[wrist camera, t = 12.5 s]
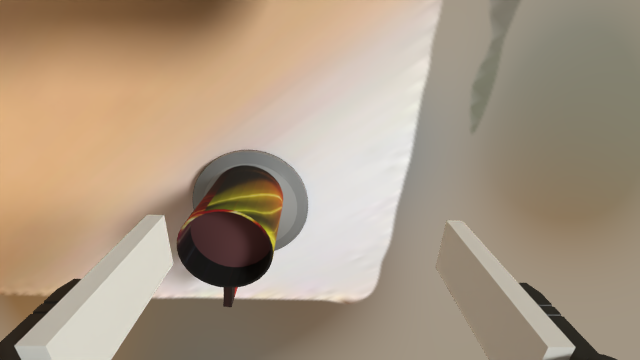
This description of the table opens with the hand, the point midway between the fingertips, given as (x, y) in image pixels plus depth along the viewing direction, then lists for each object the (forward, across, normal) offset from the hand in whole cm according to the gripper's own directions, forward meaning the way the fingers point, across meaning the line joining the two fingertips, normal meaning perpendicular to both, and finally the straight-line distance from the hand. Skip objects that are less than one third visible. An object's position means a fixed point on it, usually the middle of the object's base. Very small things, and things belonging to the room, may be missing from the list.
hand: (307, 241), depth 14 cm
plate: (+27, -8, -12) cm, 30 cm away
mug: (+26, -8, -12) cm, 29 cm away
